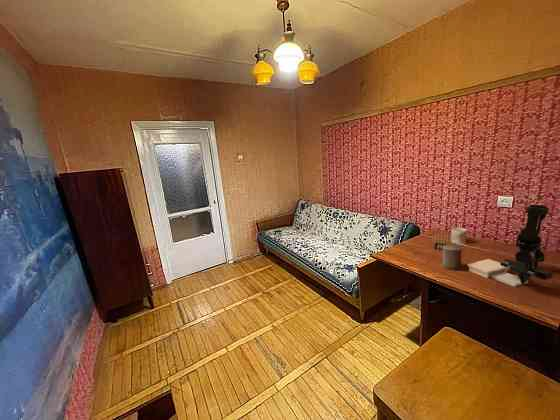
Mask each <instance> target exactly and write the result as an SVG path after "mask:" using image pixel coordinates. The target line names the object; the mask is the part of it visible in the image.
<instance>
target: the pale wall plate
mask: <svg viewBox="0 0 560 420" xmlns="http://www.w3.org/2000/svg"><path fill="white" fill-rule="evenodd" d="M489 278H490V279H491V278H492V279H494V280H496V281H499V282H502V283H504V284H507V285H509V286H511V287H518V286H521V285H524V284H525V285H526V284H528V283H529V279H528V280H527V281H526V282H525V283H524V284H522V283H521V281H520V279H519V276H518V275H515V274H511V273H508V272H507V273H506V272H503V271H501V270H499V271H496V272H492V273H489Z"/></svg>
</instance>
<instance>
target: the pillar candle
mask: <svg viewBox="0 0 560 420" xmlns="http://www.w3.org/2000/svg"><path fill="white" fill-rule="evenodd" d="M462 250H463V248H462V247H461V246H460V245H457V244H451V245H444V246H443V250H442V267H443V268H444V269H446V270H450V271H460V270H461V269H462V267H461V265H462V252H463V251H462Z"/></svg>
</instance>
